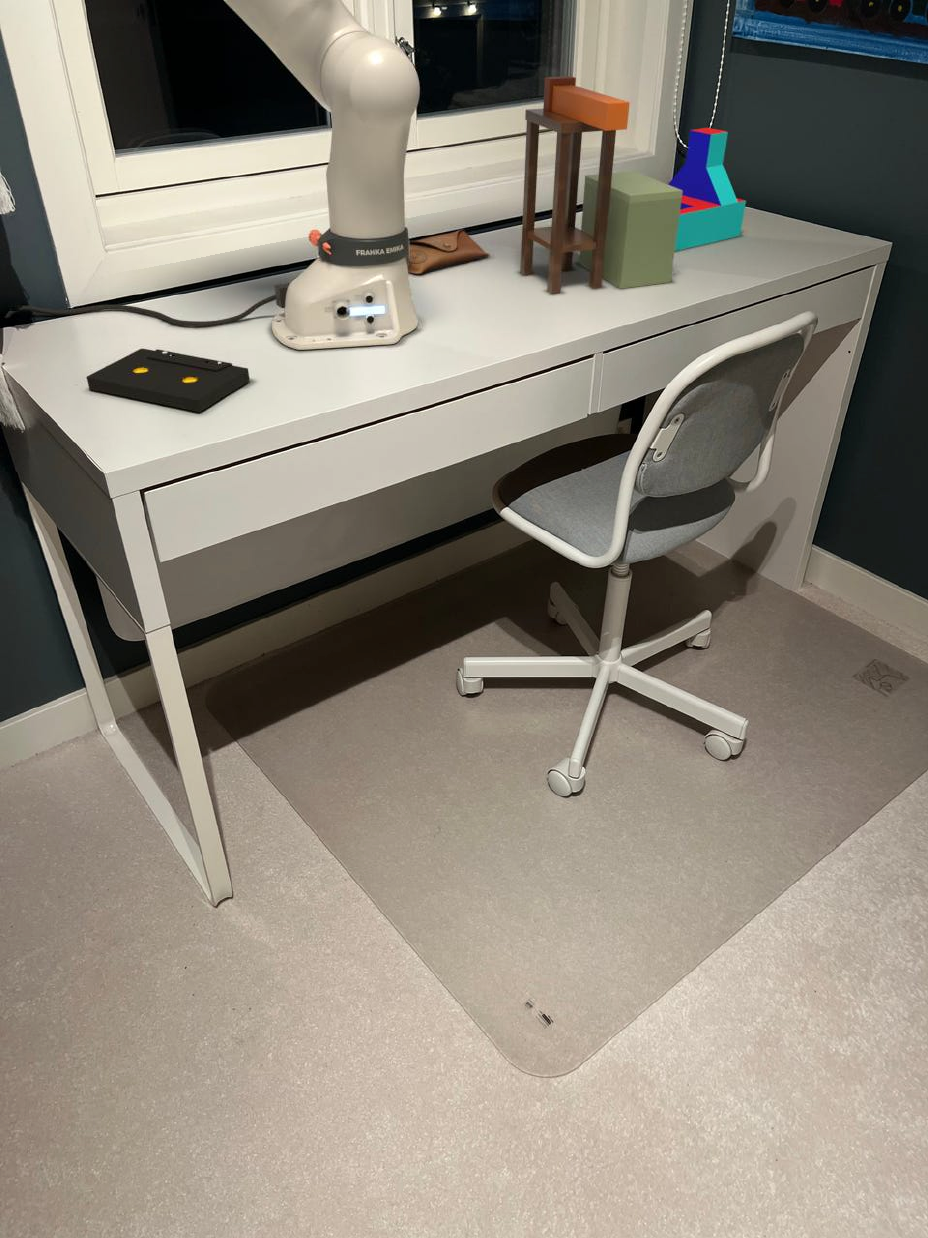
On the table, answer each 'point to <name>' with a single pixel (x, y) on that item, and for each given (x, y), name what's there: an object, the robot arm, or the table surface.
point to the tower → (584, 104)
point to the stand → (564, 198)
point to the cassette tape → (169, 379)
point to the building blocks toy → (706, 193)
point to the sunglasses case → (443, 252)
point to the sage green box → (634, 229)
